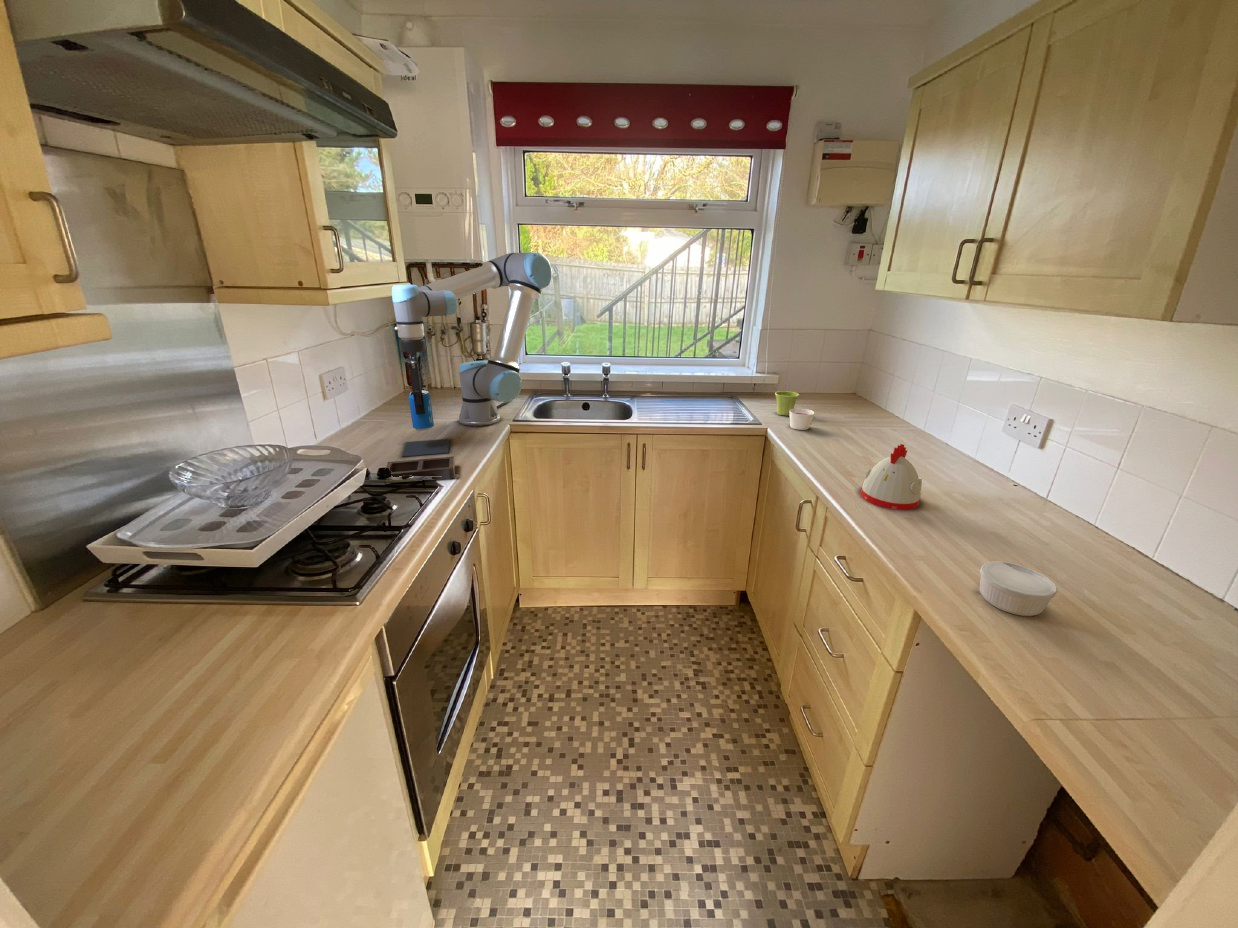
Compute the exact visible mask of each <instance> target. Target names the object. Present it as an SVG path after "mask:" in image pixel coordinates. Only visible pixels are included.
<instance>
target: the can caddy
mask: <svg viewBox="0 0 1238 928" xmlns="http://www.w3.org/2000/svg"><path fill="white" fill-rule="evenodd" d="M386 468H389V470H391V471H392V472H391V474H392V476H393V477H399V476H403V475H412V476H442V477H432V479H436V480H435V481H443V480H453V479H455V478H456V477H455V476H456V475H455V474H456V463H455V456H445V457H442V456H441V457H430V458H420V459H408V460H397V461H388V462H387V463H386V466H385V469H386Z"/></svg>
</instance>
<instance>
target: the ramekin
mask: <svg viewBox="0 0 1238 928" xmlns="http://www.w3.org/2000/svg"><path fill="white" fill-rule="evenodd" d="M979 574H980V577H979V579H980V580H979V592H980V594H981V596H982V597H983V599H984V600H985V601H986V602H987V603H988V604H990V605H992V606H993V607H995V608H997V609H999V610H1001V611H1004V612H1005V613H1008V614H1012V615H1016V616H1023V617H1033V616H1037V615H1039V614H1041V613H1043V611H1044V610H1045V609H1046V608H1047V606H1048V605H1049V604H1050V602H1051V600H1052V599H1054V598H1055V597H1056V595H1057V593H1058V588H1057V585H1056V584H1055V583H1054V581H1052V580H1051V579H1050V578H1048V577H1047V576H1046V575H1044V574H1042V573H1040V572H1039V571H1036V570H1033V569H1032V568H1030V567H1027V566H1024V565H1020V564H1017V563H1014V562H1013V563H1012V562H1009V561H1000V560H999V561H997V560H996V561H995V560H994V561H988V562H985V563H984V564H982V566H981V568H980V570H979Z"/></svg>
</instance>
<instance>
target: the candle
mask: <svg viewBox="0 0 1238 928" xmlns="http://www.w3.org/2000/svg"><path fill="white" fill-rule="evenodd" d="M814 415H815V411H813V410H811V409H808V408H802V407H801V408H799V407H797V408H795V407H794V409H790V410H789V426H790V428H791V429H794V430H798V431H806V430H809V429H810V427H811V425H812V421H813V419H814Z"/></svg>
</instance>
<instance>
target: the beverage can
mask: <svg viewBox="0 0 1238 928" xmlns="http://www.w3.org/2000/svg"><path fill="white" fill-rule="evenodd" d="M424 390H425V389H424ZM424 390H422V393H423V399H424V407H425V414H418V415H416V410H415V403H414V396H413V395H411V393H412V391H410V392H409V395H408V402H409V410H410V418H411V423H412V428H413V429H415V430H416V431H421V432H422V431H423V432H424V431H429V430H432V429H433V428H434V426H435V423H434V422H435V421H434V414H433V407H432V399H431V395H430V393H429V391H428V390H425V391H424Z"/></svg>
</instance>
